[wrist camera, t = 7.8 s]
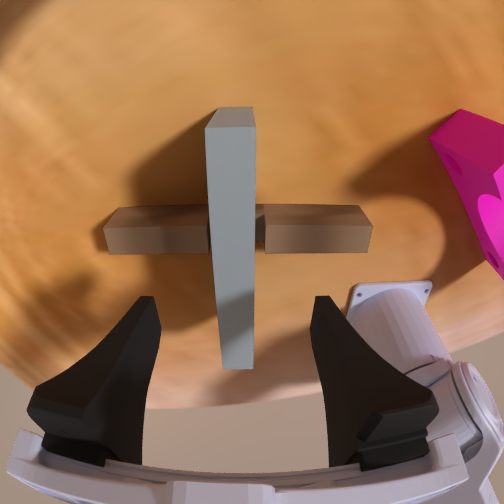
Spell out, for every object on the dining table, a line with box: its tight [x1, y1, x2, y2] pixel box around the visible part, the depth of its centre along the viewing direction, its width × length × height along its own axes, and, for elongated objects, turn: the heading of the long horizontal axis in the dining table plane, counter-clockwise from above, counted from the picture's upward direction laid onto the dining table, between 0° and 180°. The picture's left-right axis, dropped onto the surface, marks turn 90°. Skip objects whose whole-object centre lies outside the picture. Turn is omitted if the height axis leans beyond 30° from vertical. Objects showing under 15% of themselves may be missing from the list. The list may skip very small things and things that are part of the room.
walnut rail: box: [103, 204, 373, 255], centre depth 20 cm, size 17×2×3 cm, turn 90°
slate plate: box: [205, 107, 256, 369], centre depth 19 cm, size 15×2×7 cm, turn 0°
